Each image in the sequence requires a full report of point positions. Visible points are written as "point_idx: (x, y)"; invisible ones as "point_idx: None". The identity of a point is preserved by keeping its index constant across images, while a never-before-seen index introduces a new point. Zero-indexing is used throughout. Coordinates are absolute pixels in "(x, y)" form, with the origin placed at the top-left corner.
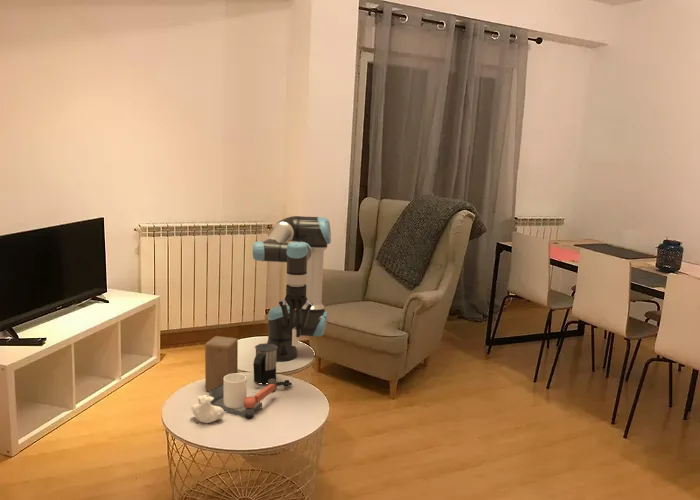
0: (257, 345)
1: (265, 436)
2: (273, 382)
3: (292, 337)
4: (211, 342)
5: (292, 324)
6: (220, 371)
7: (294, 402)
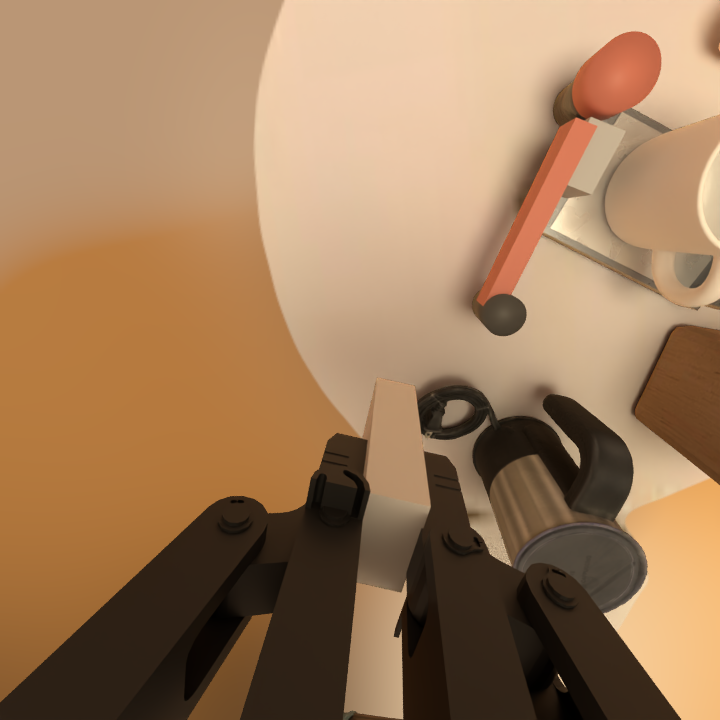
0: (629, 593)
1: None
2: (495, 297)
3: (415, 429)
4: None
5: (438, 585)
6: None
7: (385, 281)
